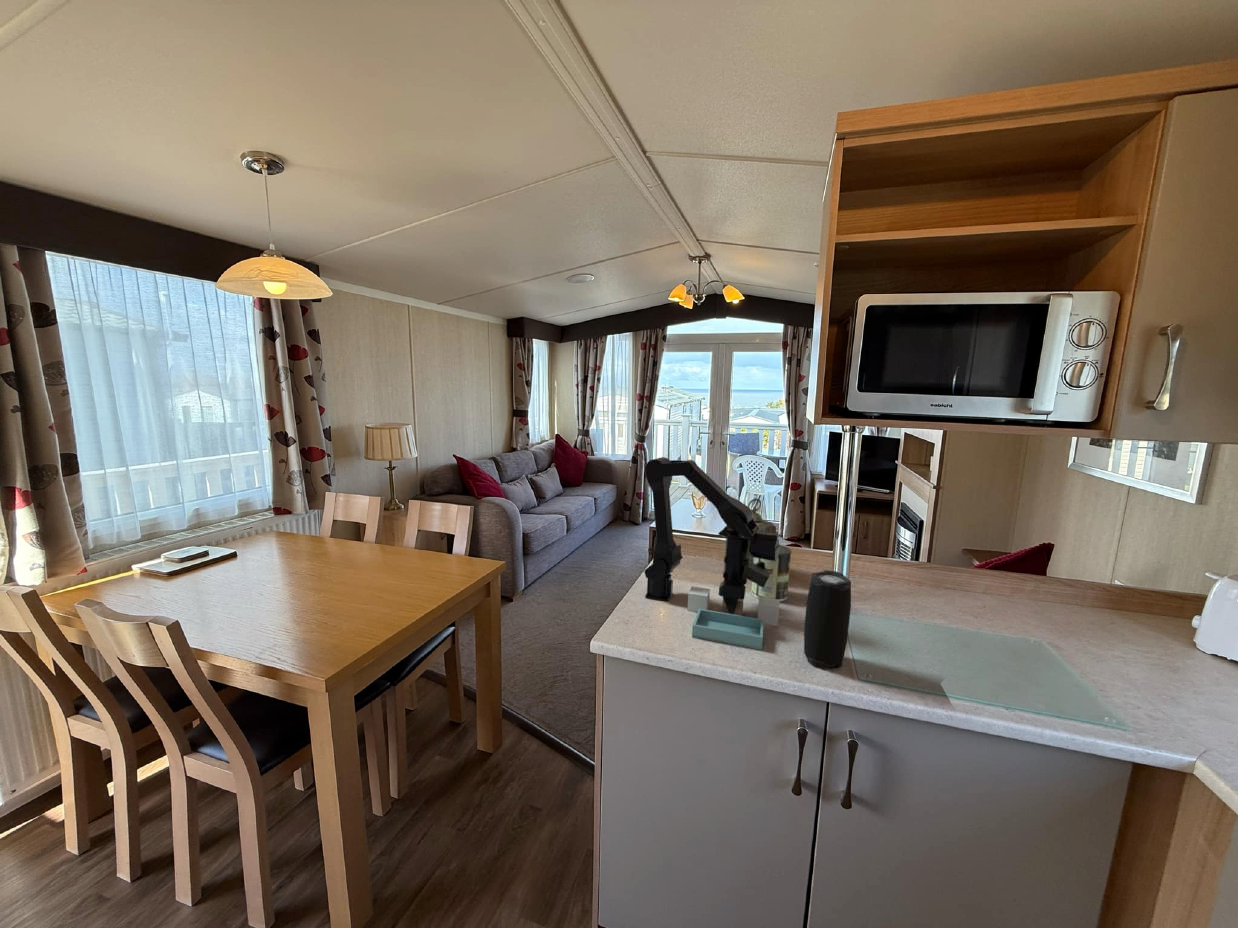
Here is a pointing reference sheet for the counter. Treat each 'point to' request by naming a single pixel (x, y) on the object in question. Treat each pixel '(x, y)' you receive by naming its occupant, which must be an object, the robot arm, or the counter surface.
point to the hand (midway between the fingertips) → (732, 610)
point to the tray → (728, 628)
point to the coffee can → (775, 577)
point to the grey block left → (698, 599)
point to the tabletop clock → (760, 526)
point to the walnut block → (737, 611)
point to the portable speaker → (827, 619)
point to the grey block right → (768, 610)
